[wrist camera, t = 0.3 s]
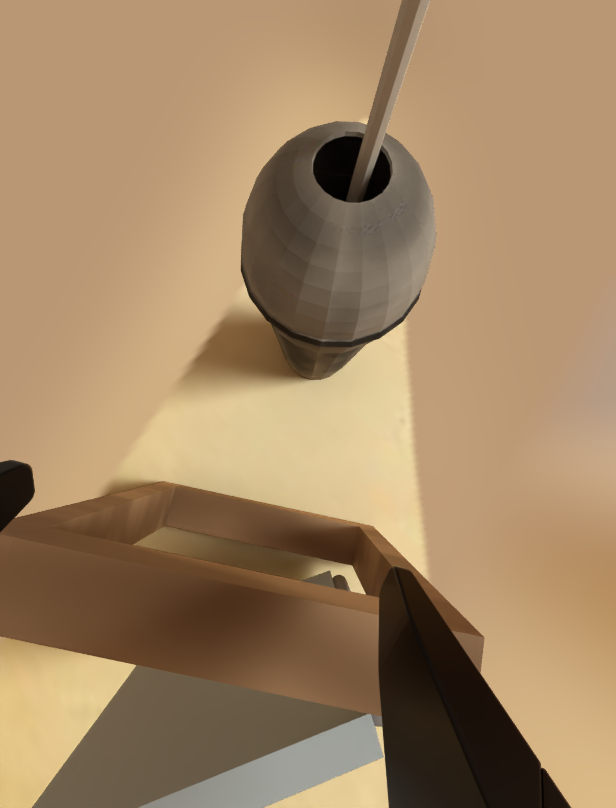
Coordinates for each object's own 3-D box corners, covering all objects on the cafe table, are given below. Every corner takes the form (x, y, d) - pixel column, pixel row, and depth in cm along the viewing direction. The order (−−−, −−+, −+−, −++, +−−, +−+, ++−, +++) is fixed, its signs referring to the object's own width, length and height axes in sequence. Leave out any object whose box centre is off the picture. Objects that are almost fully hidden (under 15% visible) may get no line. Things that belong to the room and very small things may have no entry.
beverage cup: (246, 350, 23) (-31, -213, 3) (315, 286, 24) (400, -440, 4) (316, 418, 23) (453, 213, 3) (383, 350, 24) (827, -149, 4)
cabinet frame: (366, 563, 21) (472, 735, 9) (154, 518, 21) (-62, 623, 8) (373, 526, 22) (484, 637, 9) (164, 481, 22) (-28, 528, 9)
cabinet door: (352, 601, 20) (421, 783, 9) (170, 668, 19) (2, 964, 8) (341, 566, 20) (395, 703, 9) (161, 631, 19) (-14, 868, 8)
